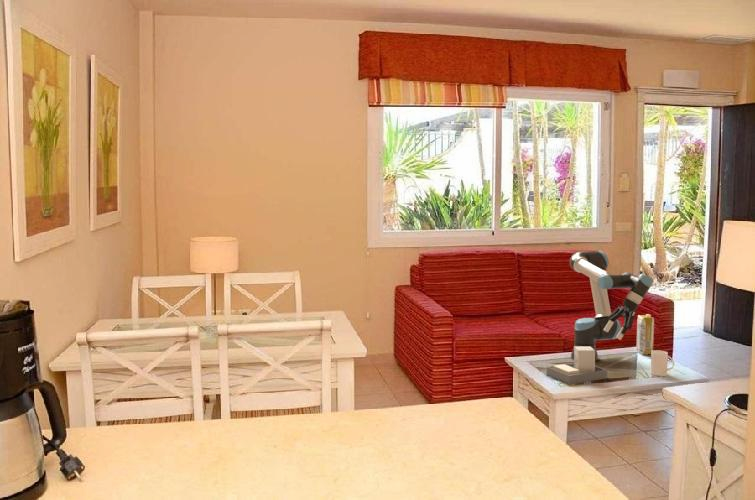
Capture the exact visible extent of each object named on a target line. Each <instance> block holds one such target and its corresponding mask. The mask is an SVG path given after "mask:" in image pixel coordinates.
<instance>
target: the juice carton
mask: <svg viewBox="0 0 755 500" xmlns="http://www.w3.org/2000/svg"><path fill="white" fill-rule="evenodd" d="M636 321H637V322H636V326H637V327H636V343H635V344H636V346H635V347H636V352H637V353H638V354H640V355H643V356H644V355H645V356H646V355H648V354H651V351H654V335H655V334H654V332H655V318H654V317H652V315H651V314H649V313H646V314H644V315H642V314H641V315H640V314H638V315H637V320H636ZM648 356H649V355H648Z"/></svg>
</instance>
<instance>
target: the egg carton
mask: <svg viewBox="0 0 755 500" xmlns="http://www.w3.org/2000/svg"><path fill="white" fill-rule="evenodd" d="M565 364H566V363H564V364H563V363H561V364H557V365H552V366H553V369H555V370H558V371H560V372H563V373H565V374H568V375H574V374H579V370H578V369H575V368H573V367H570V366H567V365H565Z"/></svg>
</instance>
